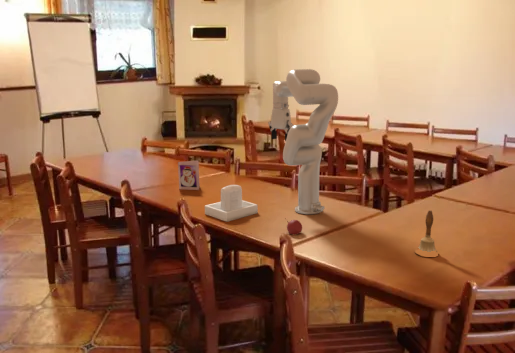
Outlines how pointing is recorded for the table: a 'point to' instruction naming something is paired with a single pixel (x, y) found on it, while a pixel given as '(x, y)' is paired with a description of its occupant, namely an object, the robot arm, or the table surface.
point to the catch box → (245, 211)
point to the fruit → (294, 227)
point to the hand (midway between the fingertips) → (280, 140)
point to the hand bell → (428, 235)
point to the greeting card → (188, 175)
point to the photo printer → (231, 198)
